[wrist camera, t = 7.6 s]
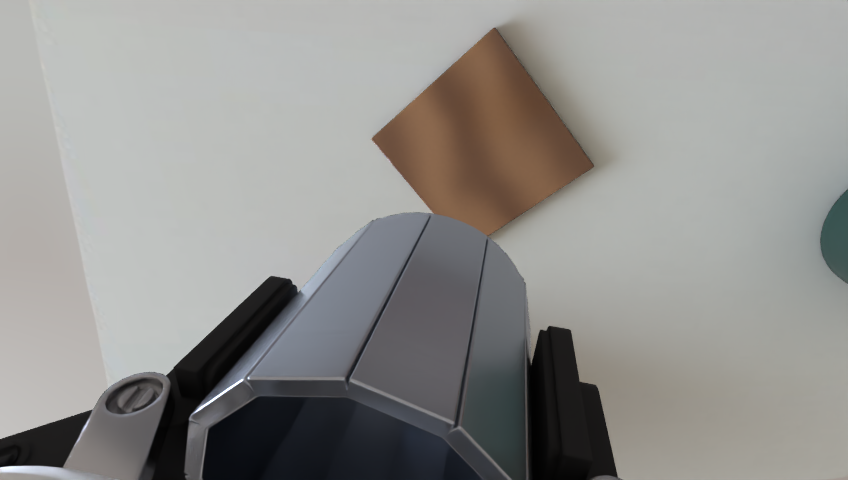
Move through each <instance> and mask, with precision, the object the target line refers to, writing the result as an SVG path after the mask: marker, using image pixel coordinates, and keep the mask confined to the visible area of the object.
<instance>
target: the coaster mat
mask: <svg viewBox="0 0 848 480" xmlns="http://www.w3.org/2000/svg"><path fill="white" fill-rule="evenodd" d="M372 141H373V142H374V143H375V144H376V145H377V147H378V148H379V149H380V150H381V151H382V153H383V154H384V155H385V156H386V157H387V158H388V160H389V161H390V162H391V163H392V164H393V166H394V167H395V168H396V169H397V170H398V172H399V173H400V174H401V175H402V176H403V178H404V179H405V180H406V181H407V182H408V183H409V185H410V186H411V187H412V188H413V189H414V191H415V192H416V193H417V194H418V195H419V197H420V198H421V199H422V200H423V201H424V202H425V204H426V205H427V206H428V207H429V208H430V210H431V211H432V212H433V213H434V214H438V215H442V216H447V217H450V218H453V219H456V220H459V221H462V222H464V223H466V224H468V225H470V226H472V227H474V228H476V229H477V230H479V231H481V232H482V233H484V234H485V235H487V236H489V235H490V234H492V233H493V232H495V231H496V230H498V229H500V228H501V227H503V226H504V225H506V224H507V223H509V222H510V221H512V220H513V219H515V218H516V217H518V216H519V215H521V214H522V213H524V212H526V211H527V210H529V209H530V208H532V207H533V206H535V205H536V204H538V203H539V202H541V201H542V200H544V199H545V198H547V197H549V196H550V195H552V194H553V193H555V192H556V191H558V190H559V189H561V188H562V187H564V186H565V185H567V184H568V183H570V182H571V181H573V180H575V179H576V178H578V177H579V176H581V175H582V174H584V173H585V172H587V171H588V170H590V169H591V168H593V167H594V165H593V163H592V162H591V161H590V159H589V158H588V156H587V155H586V154H585V152H584V151H583V149H582V148H581V147H580V145H579V144H578V142H577V141H576V140H575V138H574V137H573V135H572V134H571V133H570V131H569V130H568V129H567V127H566V126H565V124H564V123H563V122H562V120H561V119H560V117H559V116H558V115H557V113H556V112H555V110H554V109H553V108H552V106H551V105H550V103H549V102H548V101H547V99H546V98H545V96H544V95H543V94H542V92H541V91H540V89H539V88H538V87H537V85H536V84H535V82H534V81H533V80H532V78H531V77H530V75H529V74H528V73H527V71H526V70H525V68H524V67H523V66H522V64H521V63H520V61H519V60H518V59H517V57H516V56H515V54H514V53H513V52H512V50H511V49H510V47H509V46H508V45H507V43H506V42H505V40H504V39H503V38H502V36H501V35H500V33H499V32H498V31H497V29H496V28H493V29H492V30H491V31H490V32H488V33H487V34H486V35H485V36H484V37H483V38H482V39H481V40H480V41H479V42H477V43H476V44H475V45H474V46H473V47H472V48H471V49H470V50H469V51H468V52H466V53H465V54H464V55H463V56H462V57H461V58H460V59H459V60H458V61H456V62H455V63H454V64H453V65H452V66H451V67H450V68H449V69H448V70H447V71H445V72H444V73H443V74H442V75H441V76H440V77H439V78H438V79H437V80H435V81H434V82H433V83H432V84H431V85H430V86H429V87H428V88H427V89H426V90H424V91H423V92H422V93H421V94H420V95H419V96H418V97H417V98H416V99H414V100H413V101H412V102H411V103H410V104H409V105H408V106H407V107H406V108H405V109H403V110H402V111H401V112H400V113H399V114H398V115H397V116H396V117H395V118H394V119H392V120H391V121H390V122H389V123H388V124H387V125H386V126H385V127H384V128H382V129H381V130H380V131H379V132H378V133H377V134H376V135H375V136H374V137H373V138H372Z"/></svg>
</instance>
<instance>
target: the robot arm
mask: <svg viewBox="0 0 848 480" xmlns="http://www.w3.org/2000/svg"><path fill="white" fill-rule="evenodd" d="M297 293H298V292H297V287H296V286H295V285H293V284H292V281H291V280H290V279H286V278H280V277H275V276H270V277H269V278H268V279H267V280H266V281H265V282H263V283H262V284H261V285H260V286H259V287H258V288H257V289H256V290H255V291H254V292H253V293H252V294H251V295H250V296H249V297H248V298H247V299H245V300H244V301H243V302H242V303H241V304H240V305H239V306H238V307H237V308H236V309H235V310H234V311H233V312H232V313H231V314H230V315H229V316H227V317H226V318H225V319H224V320H223V321H222V322H221V323H220V324H219V325H218V326H217V327H216V328H215V329H214V330H213V331H212V332H211V333H209V334H208V335H207V336H206V337H205V338H204V339H203V340H202V341H201V342H200V343H199V344H198V345H197V346H196V347H195V348H194V349H193V350H191V351H190V352H189V353H188V354H187V355H186V356H185V357H184V358H183V359H182V360H181V361H180V362H179V363H178V364H177V365H176V366H175V367H174V369H173V370H172V371H171V372H169V373H168V374H167V375H166V376H165V375H163V374H160V373H156V372H144V373H139V374H134V375H132V376H129V377H126V378H124V379H122V380H120V381H118V382H116V383H115V384H113V385H112V386H110V387H109V388H108V389H107V390H106V391H105V392H104V393H103V394H102V396H101V397H100V398H99V400H98V402H97V403H96V405H95V407H94V409H93V410H90V411H87V412H84V413H80V414H77V415H74V416H71V417H68V418H65V419H62V420H59V421H56V422H52V423H49V424H46V425H43V426H40V427H37V428H34V429H30V430H27V431H24V432H21V433H18V434H15V435H12V436H9V437H5V438H2V439H0V480H186V478H185V473H184V472H183V469H184V459H185V449H186V439H187V429H188V420H189V418H190V416H191V414H192V413H193V411H194V410H195V409H196V408H197V407H198V406H199V405H200V404H201V402H202V401H203V400H204V399H205V398H206V397H207V396H208V394H209V393H210V392H211V391H212V390H213V389H214V388H215V386H216V385H217V384H218V383H219V382H220V381H221V380H222V378H223V377H224V376H225V375H226V374H227V373H228V372H229V371H230V369H231V368H232V367H233V366H234V365H235V364H236V363H237V361H238V360H239V359H240V358H241V357H242V356H243V355H244V353H245V352H246V351H247V350H248V349H249V348H250V347H251V346H252V344H253V343H254V342H255V341H256V340H257V339H258V338H259V336H260V335H261V334H262V333H263V332H264V331H265V330H266V328H267V327H268V326H269V325H270V324H271V323H272V322H273V321H274V319H275V318H276V317H277V316H278V315H279V314H280V313H281V311H282V310H283V309H284V308H285V307H286V306H287V305H288V303H289V302H290V301H291V300H292V299H293V298H294V297H295V296H296V294H297ZM531 372H532V404H533V436H534V467H535V480H622V479H620V478H618V476H617V472H616V467H615V463H614V458H613V454H612V449H611V444H610V440H609V435H608V431H607V426H606V422H605V417H604V413H603V408H602V404H601V399H600V395H599V391H598V388H597V386H596V385H593V384H588V383H583V382H580V381H579V375H578V370H577V364H576V358H575V352H574V346H573V340H572V334H571V330H570V329H564V328H558V327H553V326H549V327H548V329H547V331H545V330H540V332H539V335H538V340H537V344H536V348H535V352H534V356H533V360H532V365H531Z"/></svg>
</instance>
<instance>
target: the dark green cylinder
mask: <svg viewBox="0 0 848 480" xmlns="http://www.w3.org/2000/svg"><path fill="white" fill-rule="evenodd" d="M821 250H822V254H823V257H824V259H825V261H826V264H827V265H828V266H829V268H830V269H831V270H832V271H833V272H834V273H835V274H836V275H837V276H838V277H839V278H841V279H842V280H843V281H845V282H846V283H847V284H848V190H847V191H846V192H845V193H844V194H843V195H842V196H841V197H840V198H839V199H838V200H837V202H836V203H835V204H834V206H833V207H832V209H831V210H830V212H829V214H828V216H827V218H826V220H825V222H824V225H823V229H822V232H821Z"/></svg>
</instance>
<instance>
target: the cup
mask: <svg viewBox="0 0 848 480" xmlns="http://www.w3.org/2000/svg"><path fill="white" fill-rule="evenodd" d="M183 472H184V473H185V478H186V480H535V467H534V436H533V404H532V372H531V335H530V320H529V311H528V300H527V292H526V283H525V282H524V278H523V277H522V276H521V275H520V274H519V272H518V270H517V268H516V266H515V265H514V263H513V262H512V261H511V259H510V258H509V256H508V255H507V254H506V253H505V252H504V251H503V250H502V249H501V247H500V246H499V245H498V244H496V243H495V242H494V241H493V240H492V239H491V238H489V237H488V236H487V235H485V234H484V233H482V232H481V231H479V230H477V229H476V228H474V227H472V226H470V225H468V224H466V223H464V222H462V221H459V220H456V219H453V218H450V217H447V216H442V215H438V214H433V213H421V212H414V213H401V214H395V215H390V216H387V217H384V218H377V219H376V220H372V221H371V222H370V223H368V224H367V225H366V226H364V227H363V228H361V229H360V230H358V231H357V232H356V233H355V234H354V235H353V236H352V237H350V238H349V239H348V240H347V241H346V242H344V243H343V244H342V245H340V246H339V247H338V248H337V249H336V250H335V251H334V252H333V253H332V255H331V256H330V257H329V258H328V259H327V260H326V261H325V263H324V264H323V265H322V266H321V267H320V268H319V269H318V271H317V272H316V273H315V274H314V275H313V276H312V277H311V278H310V280H309V281H308V282H307V283H306V284H305V285H304V286H303V288H302V289H301V290H300V291H299V292H298V293H297V294H296V296H295V297H294V298H293V299H292V300H291V301H290V302H289V303H288V305H287V306H286V307H285V308H284V309H283V310H282V311H281V313H280V314H279V315H278V316H277V317H276V318H275V319H274V321H273V322H272V323H271V324H270V325H269V326H268V327H267V328H266V330H265V331H264V332H263V333H262V334H261V335H260V336H259V338H258V339H257V340H256V341H255V342H254V343H253V344H252V346H251V347H250V348H249V349H248V350H247V351H246V352H245V353H244V355H243V356H242V357H241V358H240V359H239V360H238V361H237V363H236V364H235V365H234V366H233V367H232V368H231V369H230V371H229V372H228V373H227V374H226V375H225V376H224V377H223V378H222V380H221V381H220V382H219V383H218V384H217V385H216V386H215V388H214V389H213V390H212V391H211V392H210V393H209V394H208V396H207V397H206V398H205V399H204V400H203V401H202V402H201V404H200V405H199V406H198V407H197V408H196V409H195V410H194V411H193V413H192V414H191V416H190V418H189V420H188V429H187V439H186V449H185V459H184V469H183Z"/></svg>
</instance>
